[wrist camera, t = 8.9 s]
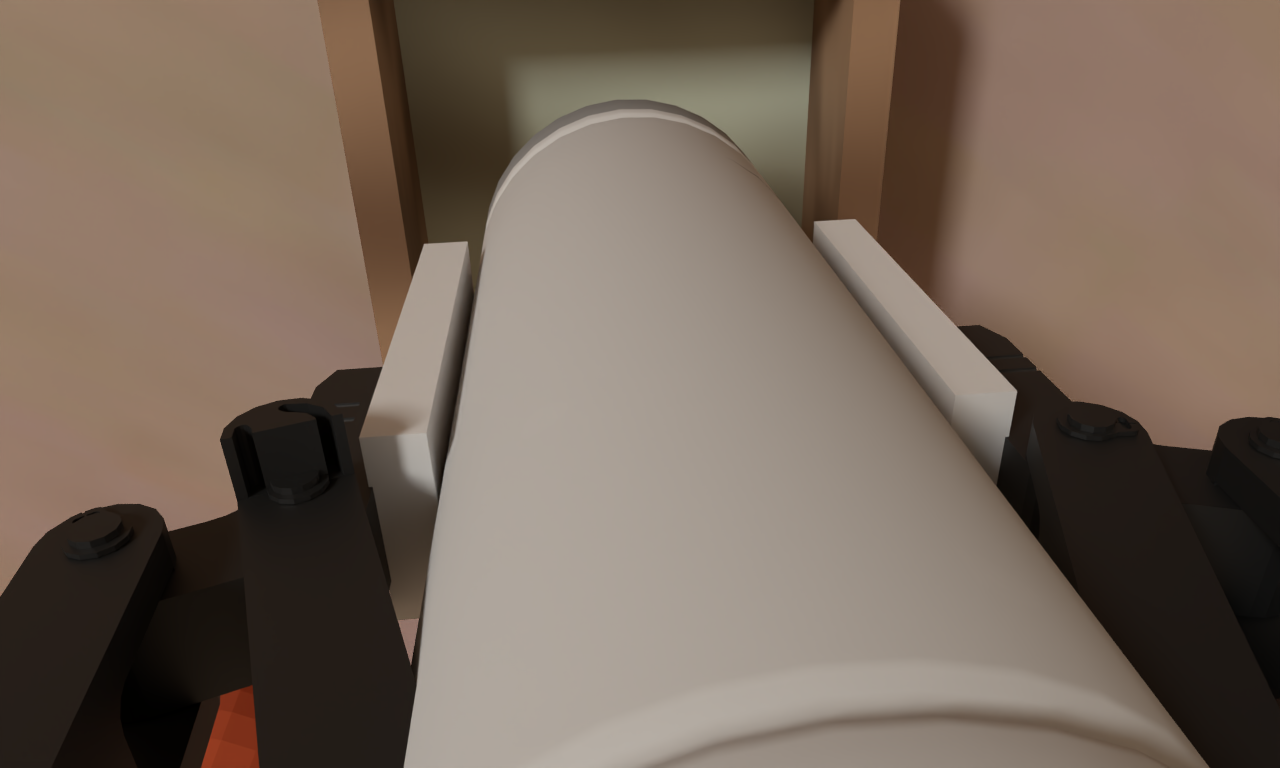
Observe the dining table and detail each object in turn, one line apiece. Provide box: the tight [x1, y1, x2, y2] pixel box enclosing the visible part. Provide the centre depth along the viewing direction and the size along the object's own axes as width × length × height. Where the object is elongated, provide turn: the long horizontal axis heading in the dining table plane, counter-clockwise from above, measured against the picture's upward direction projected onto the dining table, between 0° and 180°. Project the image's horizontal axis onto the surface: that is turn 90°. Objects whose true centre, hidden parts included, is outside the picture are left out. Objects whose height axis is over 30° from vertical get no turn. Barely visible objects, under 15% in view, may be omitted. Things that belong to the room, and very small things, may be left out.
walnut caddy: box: [317, 0, 900, 365], centre depth 23 cm, size 13×13×4 cm
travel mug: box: [404, 100, 1209, 768], centre depth 12 cm, size 6×7×20 cm
